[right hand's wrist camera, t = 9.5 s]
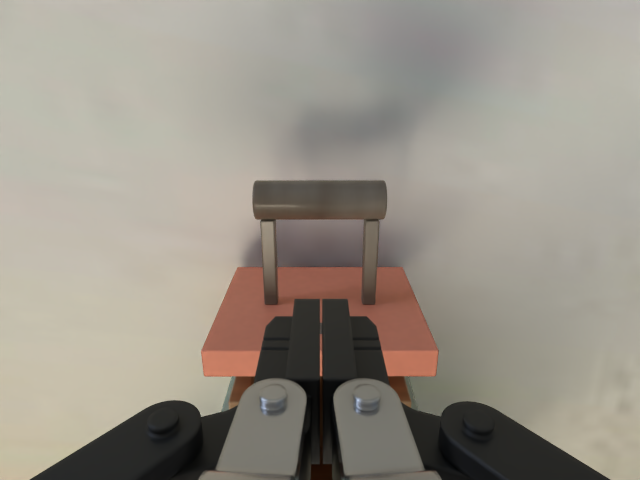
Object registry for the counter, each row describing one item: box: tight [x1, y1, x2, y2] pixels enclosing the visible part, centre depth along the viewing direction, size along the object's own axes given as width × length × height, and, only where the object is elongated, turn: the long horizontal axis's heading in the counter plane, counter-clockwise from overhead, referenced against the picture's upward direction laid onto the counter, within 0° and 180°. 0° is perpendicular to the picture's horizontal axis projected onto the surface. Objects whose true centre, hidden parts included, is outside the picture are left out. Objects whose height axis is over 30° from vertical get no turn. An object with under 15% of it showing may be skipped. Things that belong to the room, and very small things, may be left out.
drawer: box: [201, 181, 439, 480], centre depth 21 cm, size 18×9×8 cm, turn 0°
